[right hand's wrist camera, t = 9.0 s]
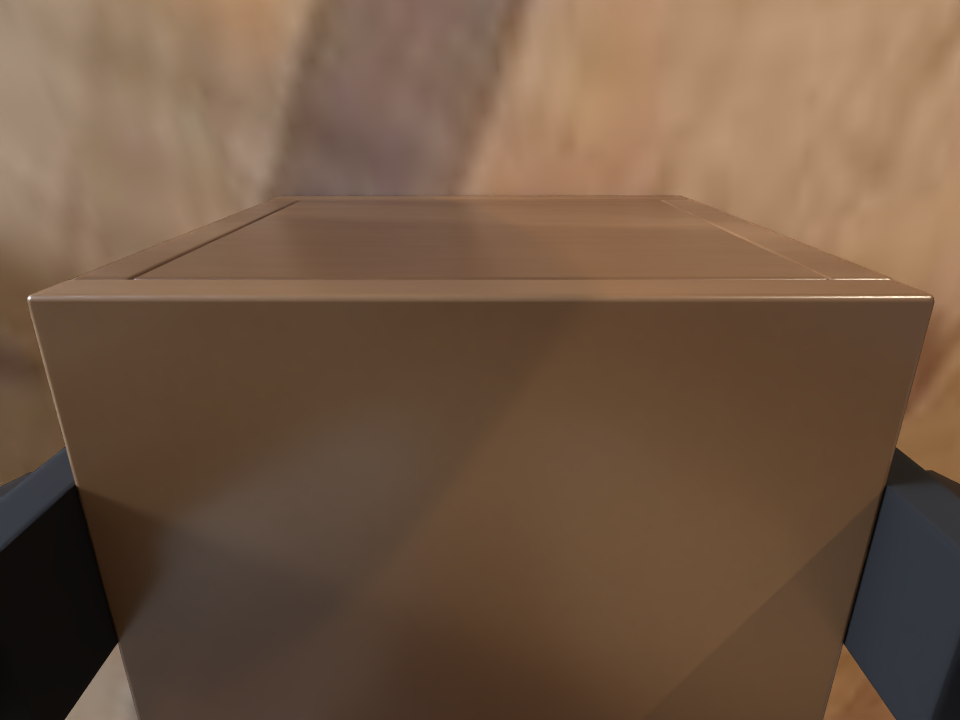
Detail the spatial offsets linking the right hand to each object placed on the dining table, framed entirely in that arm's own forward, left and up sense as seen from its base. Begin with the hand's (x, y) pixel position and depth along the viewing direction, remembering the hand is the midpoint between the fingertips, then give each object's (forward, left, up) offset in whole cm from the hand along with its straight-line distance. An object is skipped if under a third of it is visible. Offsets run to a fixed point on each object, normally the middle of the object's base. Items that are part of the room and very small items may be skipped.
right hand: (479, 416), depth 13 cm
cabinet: (+3, -3, -5) cm, 7 cm away
